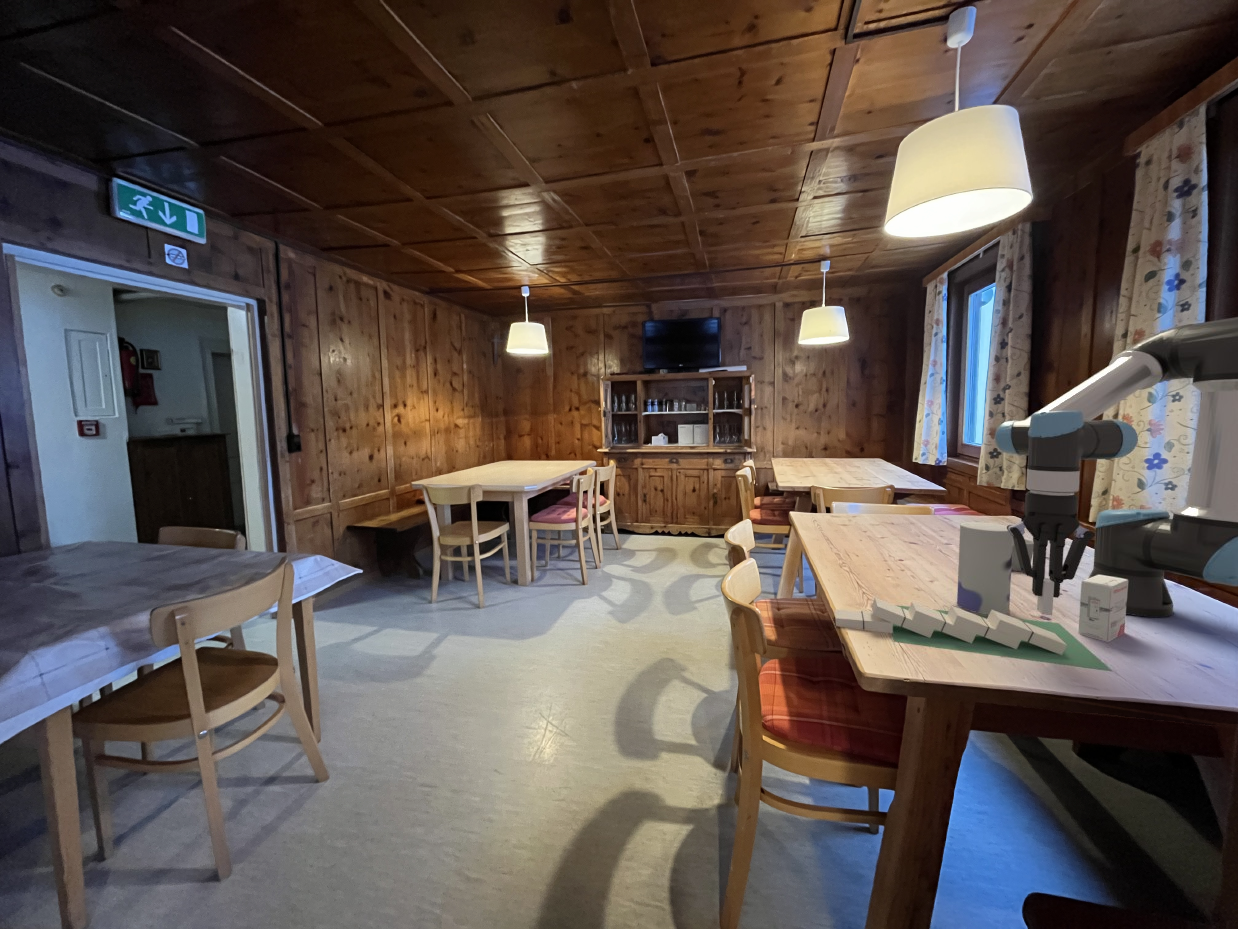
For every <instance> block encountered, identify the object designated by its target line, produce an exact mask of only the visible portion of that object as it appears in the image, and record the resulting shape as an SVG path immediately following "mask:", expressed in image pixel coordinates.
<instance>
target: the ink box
mask: <svg viewBox="0 0 1238 929" xmlns="http://www.w3.org/2000/svg"><path fill="white" fill-rule="evenodd" d="M1088 578H1089V577H1088ZM1088 578H1087V579H1083V580H1082V581H1081V587H1080V602H1079V616H1078V617H1079V618H1078V634H1079V635H1083V636H1085V637H1089V638H1092V639H1096V640H1100V641H1103V642H1107V643H1109V642H1111V641H1112V640H1114V639H1116V638H1118V637H1120V636H1121V635H1123V634H1125V628H1126V617H1127V616H1126V615H1127V614H1126V604H1127V591H1128V580H1127V579H1123V578H1117V577H1111V576H1105V575H1096V576H1094V577H1091V578H1089V579H1088Z"/></svg>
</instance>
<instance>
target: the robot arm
mask: <svg viewBox="0 0 1238 929" xmlns="http://www.w3.org/2000/svg"><path fill="white" fill-rule="evenodd" d="M1181 379H1182V380H1183V379H1192V384H1191V385H1192V386H1193V387H1194V388H1196V389H1197V390H1198V391H1200V393H1201V395H1200V396H1201V397H1200V404H1199V405H1200V406H1199V412H1198V418H1197V423H1196V424H1197V425H1196V432H1195V438H1194V445H1193V451H1192V458H1191V465H1190V472H1189V478H1188V485H1187V491H1186V492H1187V493H1186V497H1185V504H1184V505H1183V506H1182V507H1180V508H1178V509H1176V510H1174V511H1173V515H1172V518H1171V515H1170V513H1169V511H1167V510H1163V509H1151V508H1146V509H1145V508H1143V509H1142V508H1141V509H1140V508H1132V509H1131V508H1127V509H1125V508H1120V509H1119V508H1118V509H1106V510H1102V511H1100V512H1099V513H1098V514H1097V518H1096V524H1095V526H1094V530H1095V532H1094V531H1092V530H1089V529H1087V528H1085V527H1083V526H1082V525H1080V521H1079V519H1078V517H1077V516H1078V508H1079V504H1078V503H1079V496H1077V494H1075V493H1077V492H1079V491H1080V472H1081V471H1080V470H1081V460H1107V461H1109V460H1111V459H1119V458H1123V457H1125V456H1127V455H1129V454H1131V453H1132V452H1133V451H1134V450H1135V448H1136V447H1137V444H1138V441H1139V440H1138V436H1139V435H1138V433H1137V431H1136V429H1135V428H1134V427H1133V426H1132V424H1129V423H1128V422H1125V421H1124V420H1118V419H1117V420H1116V419H1101V420H1100V419H1097V420H1095V419H1096V418H1097V417H1099V416H1100V415H1102V414H1103V413H1105V412H1106V411H1108V410H1110V409H1111V408H1113V407H1114V406H1116V405H1117V404H1119V403H1120V402H1122V401H1123V400H1125V399H1127V398H1128V397H1129V396H1131V395H1133V394H1134V393H1136V392H1137V391H1140V390H1141V391H1142V390H1147V389H1151V388H1152V387H1154V386H1156V385H1158V384H1160V383H1162V382H1166V381H1172V380H1173V381H1174V380H1181ZM994 434H995V435H994V442H995V443H996V446H997V448H998V449H999V450H1000V451H1001V452H1002V453H1005V454H1013V455H1017V456H1028V457H1027V459H1028V460H1027V469H1026V486H1025V487H1026V489H1027V490H1029V491H1027V492H1026V493H1025V502H1024V514H1023V515H1022V517H1021V518H1020V521H1019V522H1016V523H1014V524H1013V525H1012V524H1008V525H1006V526H1007V530H1008V531H1009V532H1010V534H1011V535H1012V536H1013V540H1014V544H1015V548H1016V552H1017V556H1018V560H1019V564H1020V568H1021V571H1020V572H1022V574H1024V575H1025V576H1026V577H1030V578H1032V583H1031V584H1032V585H1031V587H1032V588H1031V591H1032V594H1033V595H1035V597H1037V601H1036V602H1037V603H1036V610H1037V611H1038V612H1039V613H1040V614H1041V615H1045V616H1053V608H1054V598H1055V599H1056V598H1057V599H1058V598H1059V597H1060V595H1061V584H1063V582H1064V581H1065V580H1066V581H1067V580H1071V581H1072V580H1073V579H1074V578H1075V576H1076V574H1077V571H1078V568H1079V565H1080V563H1081V560H1082V558H1083V555H1084V553H1085V550H1086V548H1087V544H1089V542H1090V541H1091V540H1093V538H1094V550H1093V551H1094V552H1093V568H1092V571H1091V572H1090V574H1089V575H1088V578H1087V579H1089V578H1091V577H1094V576H1096V575H1105V576H1111V577H1117V578H1123V579H1127V580H1128V591H1127V604H1126V615H1132V616H1136V617H1137V616H1139V617H1147V618H1148V617H1149V618H1165V617H1171V616H1172V615H1173V614H1174V603H1173V599H1172V597H1171V594H1170V591H1169V589H1168V587H1167V584H1166V581H1165V572H1168V573H1172V574H1177V575H1182V576H1186V577H1190V578H1194V579H1199V580H1203V581H1206V582H1208V583H1211V584H1222V585H1227V586H1232V587H1238V316H1236V317H1230V318H1222V319H1217V320H1211V321H1205V322H1199V323H1198V322H1197V323H1189V324H1183V325H1179V326H1175V327H1171V328H1169V329H1165V330H1163V331H1160V332H1158V333H1155V334H1153V335H1151V336H1149V337H1147V338H1145V339H1142V340H1140V341H1138V342H1137V343H1135V344H1133V345H1132V346H1130V347H1127V348H1126V349H1124V350H1122V351H1121V352H1120V353H1118V354H1116V355H1114V357H1112V359H1111V360H1110V361H1109V364H1108V366H1107V367H1105V368H1103V369H1102V370H1099V371H1098V372H1097V373H1095V374H1093V375H1092V376H1091V377H1089V378H1087V379H1086V380H1084V381H1083V382H1081V383H1080V384H1078V385H1077V386H1075V387H1073V388H1072V389H1070V390H1069V391H1067V392H1066V393H1064V394H1062V395H1061V396H1059V397H1058V398H1056V399H1055V400H1054V401H1052V402H1050V403H1049V404H1046V405H1045V406H1044V407H1043V408H1041V409H1040V410H1037V411H1035V412H1034V413H1032V414H1031V415H1030V416H1028V417H1027V418H1025V419H1022V420H1019V419H1015V420H1009V421H1005V422H1003V423H1001V424H1000V425H999V426H998V427H997V429H996V432H995V433H994ZM1025 528H1026V531H1028V532H1029V534H1030V535H1031V536H1032V541H1033V542H1034V547H1033V555H1032V561H1031V562H1032V564H1031V562H1030V558H1029V554H1028V550H1027V546H1026V542H1025V537H1024V534H1025V533H1026V531H1025ZM1072 534H1073V536H1074V537H1073V539H1072V540H1071V541H1072V542H1071V543H1070V546H1069V548H1068V551H1067V554H1066V557H1065V559H1064V548H1065V546H1066V540H1067V539H1068V538H1069V537H1070V536H1071V535H1072ZM1048 544H1049V557H1048V558H1049V560H1048V561H1049V562H1048V577H1046V576H1045V575H1046V563H1047V562H1046V561H1047V547H1048Z"/></svg>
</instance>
